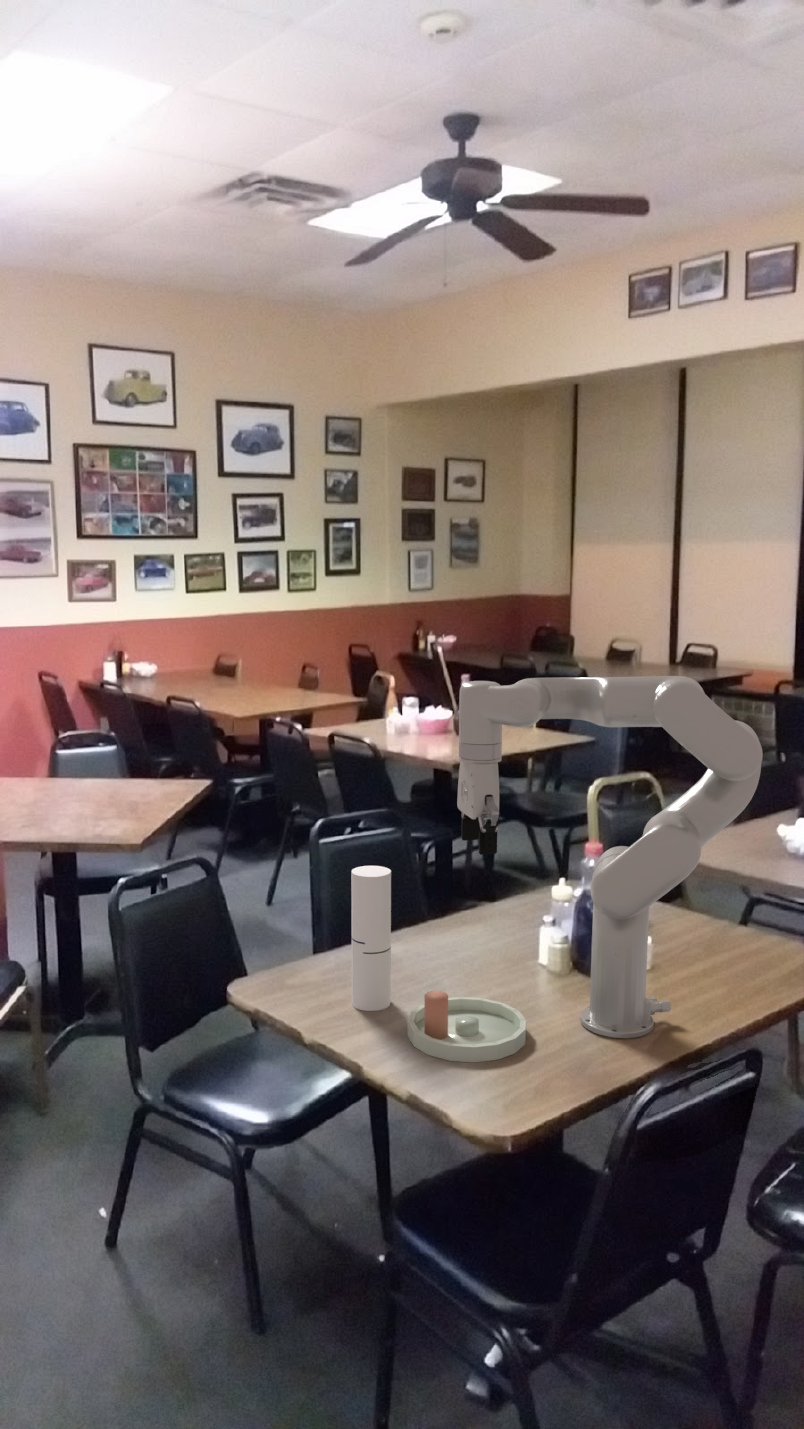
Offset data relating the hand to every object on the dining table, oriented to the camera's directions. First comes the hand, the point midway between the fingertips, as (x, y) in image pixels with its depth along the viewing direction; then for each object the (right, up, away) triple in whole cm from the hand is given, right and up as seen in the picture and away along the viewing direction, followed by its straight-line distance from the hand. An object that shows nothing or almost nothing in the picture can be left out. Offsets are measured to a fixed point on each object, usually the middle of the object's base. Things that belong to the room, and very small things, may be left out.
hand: (478, 846), depth 190 cm
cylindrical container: (-19, -30, +7) cm, 36 cm away
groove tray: (-2, -32, -7) cm, 32 cm away
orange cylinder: (-8, -31, -8) cm, 33 cm away
